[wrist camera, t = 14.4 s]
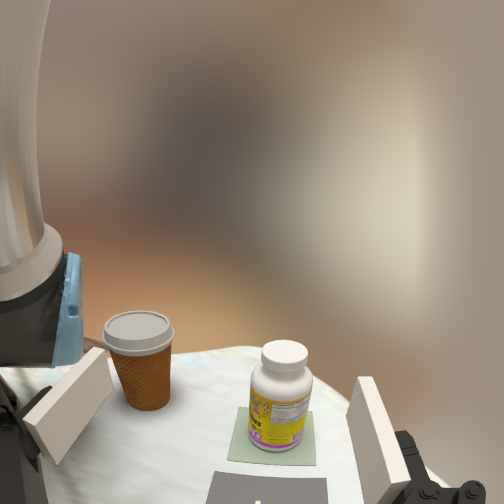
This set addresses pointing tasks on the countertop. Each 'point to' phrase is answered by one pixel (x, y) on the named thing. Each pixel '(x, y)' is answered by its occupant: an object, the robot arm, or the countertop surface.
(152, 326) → the disposable coffee cup
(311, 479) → the mat
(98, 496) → the countertop surface
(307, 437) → the mat
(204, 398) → the countertop surface
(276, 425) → the supplement bottle
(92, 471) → the countertop surface
